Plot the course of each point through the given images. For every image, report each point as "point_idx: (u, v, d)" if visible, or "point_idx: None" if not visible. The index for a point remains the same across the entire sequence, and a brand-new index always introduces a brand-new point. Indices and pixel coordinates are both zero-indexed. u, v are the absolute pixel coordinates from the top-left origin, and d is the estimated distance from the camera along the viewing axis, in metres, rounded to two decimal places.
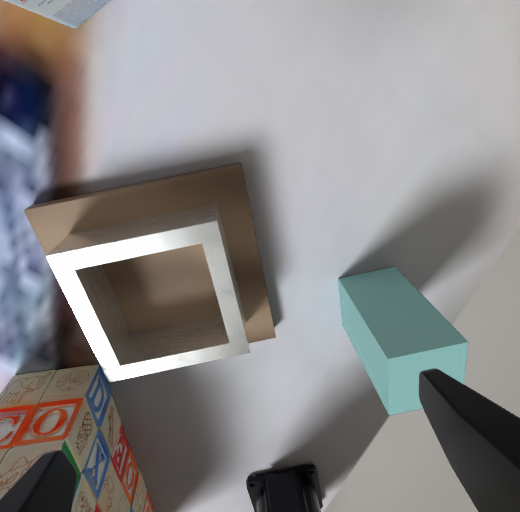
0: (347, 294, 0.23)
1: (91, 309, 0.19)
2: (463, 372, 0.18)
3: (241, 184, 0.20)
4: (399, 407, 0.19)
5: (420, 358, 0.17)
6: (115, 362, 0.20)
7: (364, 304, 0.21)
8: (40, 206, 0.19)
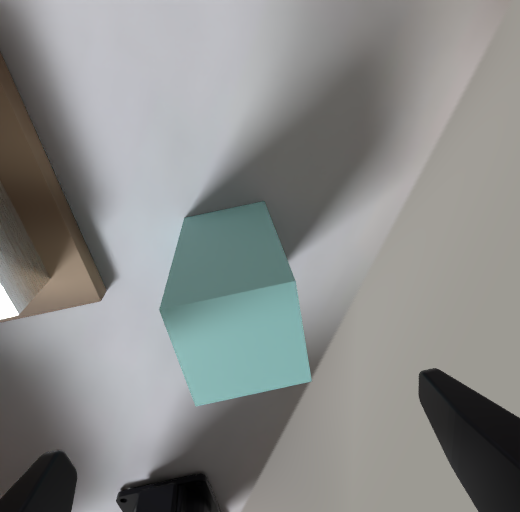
0: None
1: None
2: (301, 335, 0.11)
3: None
4: (209, 393, 0.12)
5: (218, 309, 0.10)
6: None
7: (190, 243, 0.14)
8: None
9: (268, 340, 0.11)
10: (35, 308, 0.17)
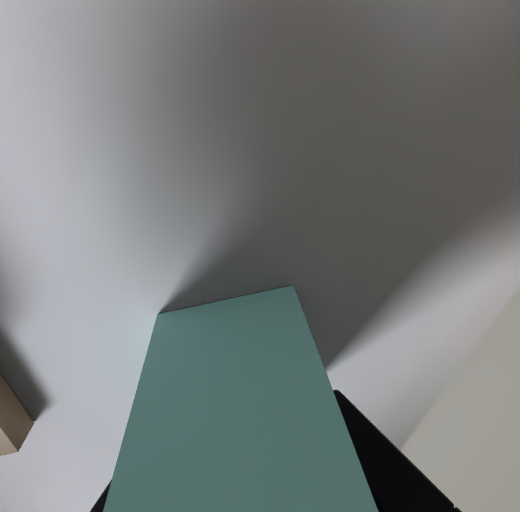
0: (146, 363, 0.09)
1: None
2: None
3: None
4: None
5: None
6: None
7: (157, 406, 0.07)
8: None
9: None
10: None
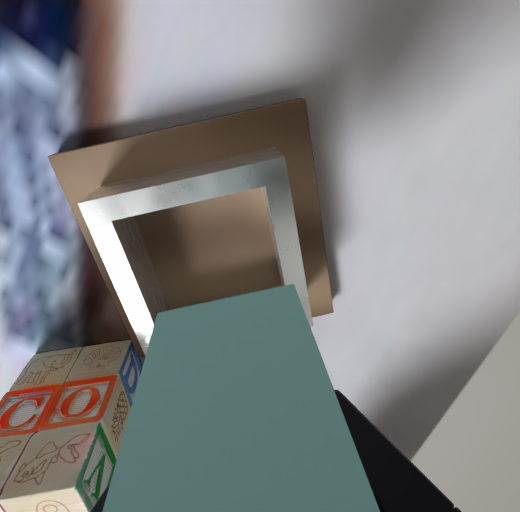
0: None
1: (130, 271, 0.16)
2: None
3: (304, 122, 0.17)
4: None
5: None
6: None
7: (157, 404, 0.07)
8: (67, 152, 0.16)
9: None
10: None
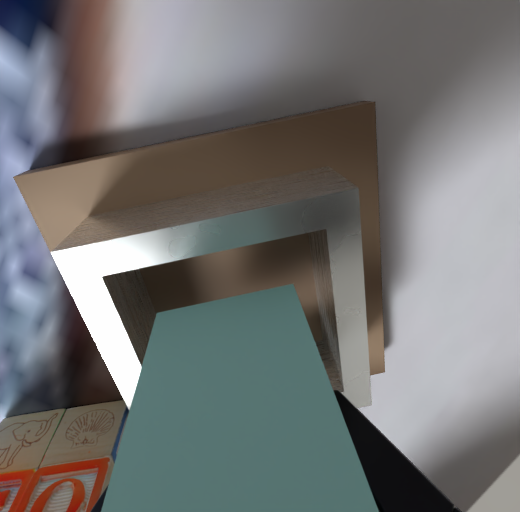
0: None
1: (128, 342, 0.11)
2: None
3: (370, 134, 0.12)
4: None
5: None
6: None
7: (156, 404, 0.07)
8: (41, 170, 0.12)
9: None
10: None
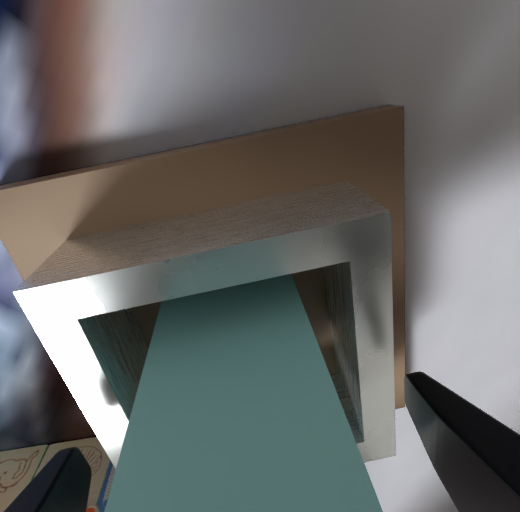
0: None
1: (111, 393, 0.09)
2: None
3: (397, 144, 0.10)
4: None
5: None
6: None
7: (168, 355, 0.08)
8: (9, 187, 0.10)
9: None
10: None
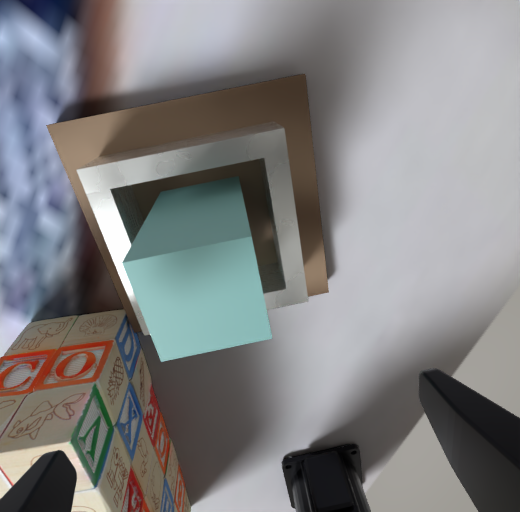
0: None
1: (128, 241, 0.16)
2: (260, 291, 0.12)
3: (303, 98, 0.17)
4: (173, 348, 0.12)
5: (178, 263, 0.11)
6: None
7: (161, 211, 0.15)
8: (66, 121, 0.16)
9: (229, 296, 0.12)
10: None
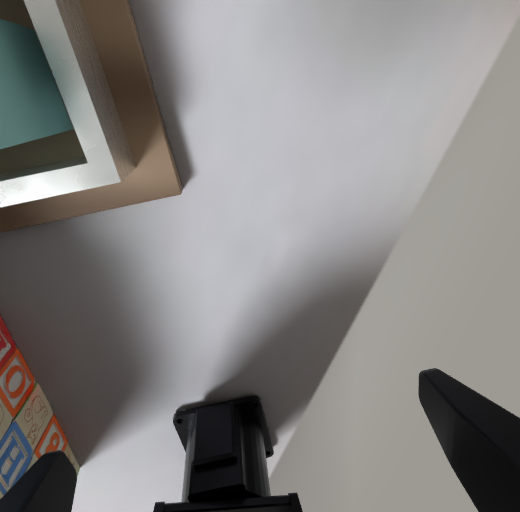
0: None
1: None
2: None
3: None
4: None
5: None
6: None
7: None
8: None
9: None
10: (118, 200, 0.18)
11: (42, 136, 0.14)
